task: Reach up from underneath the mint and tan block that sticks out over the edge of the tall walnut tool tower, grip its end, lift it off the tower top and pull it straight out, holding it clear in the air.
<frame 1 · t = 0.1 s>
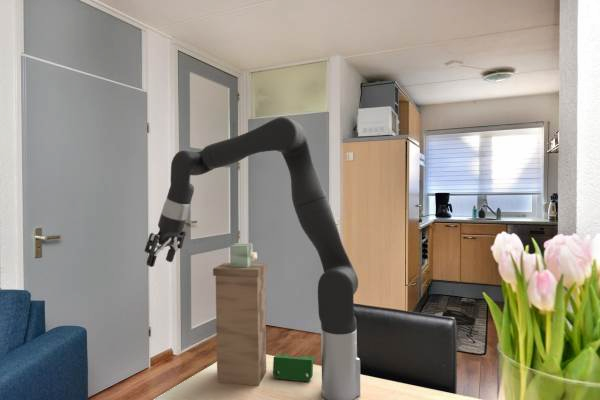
hand: (159, 263, 119), 31 cm above the table, tool tilted 20°, fingers open, 8 cm apart
mint and tan block: (246, 262, 115), point 32 cm above the table, touching tool tower
green box: (294, 376, 111), on the table
tool tower: (242, 376, 110), on the table
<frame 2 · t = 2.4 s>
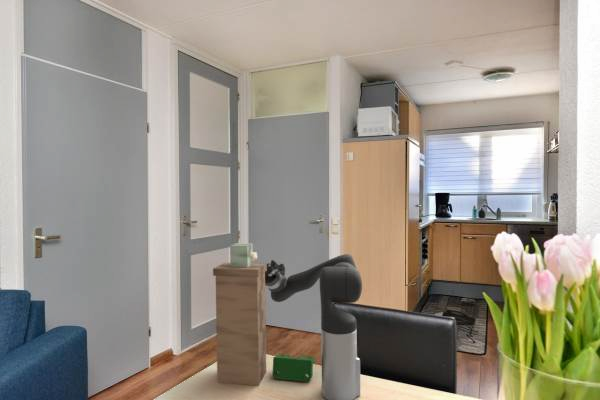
hand: (259, 262, 130), 29 cm above the table, tool pointing upward, fingers open, 8 cm apart
nothing on the table moved.
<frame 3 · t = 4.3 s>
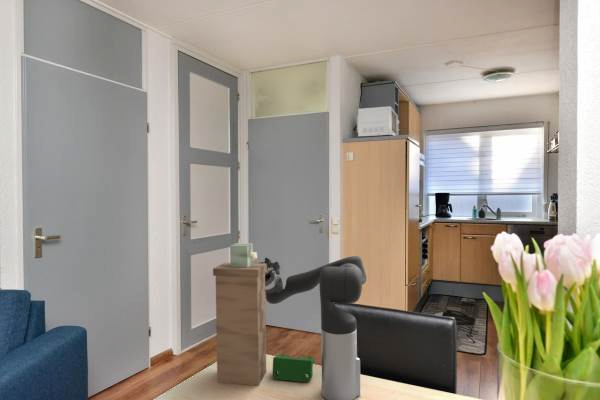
hand: (252, 260, 121), 32 cm above the table, tool pointing upward, fingers open, 8 cm apart
nothing on the table moved.
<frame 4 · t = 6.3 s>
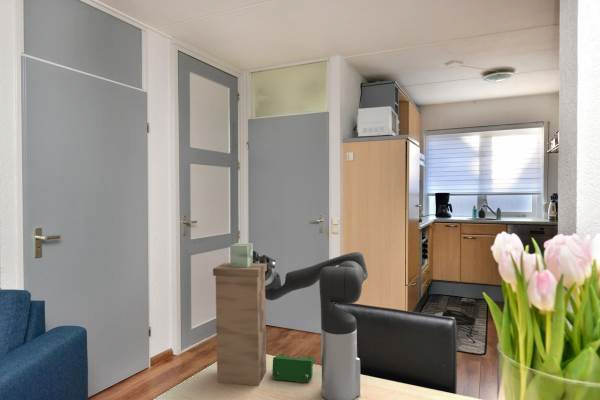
hand: (248, 253, 117), 34 cm above the table, tool pointing upward, fingers closed on mint and tan block, 2 cm apart
mint and tan block: (246, 262, 115), point 32 cm above the table, touching gripper, tool tower
everything else where it was.
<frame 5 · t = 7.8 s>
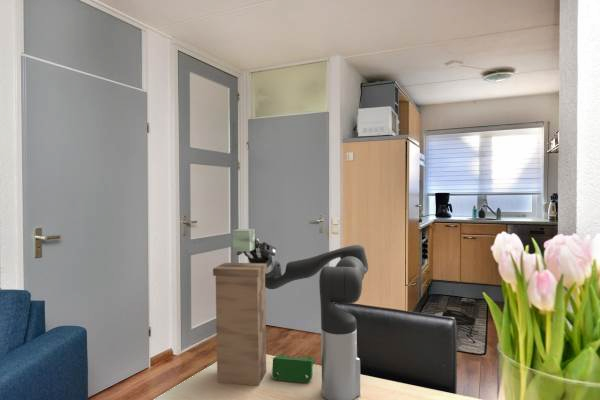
hand: (248, 240, 117), 38 cm above the table, tool pointing upward, fingers closed on mint and tan block, 2 cm apart
mint and tan block: (248, 247, 118), point 36 cm above the table, touching gripper
everything else where it was.
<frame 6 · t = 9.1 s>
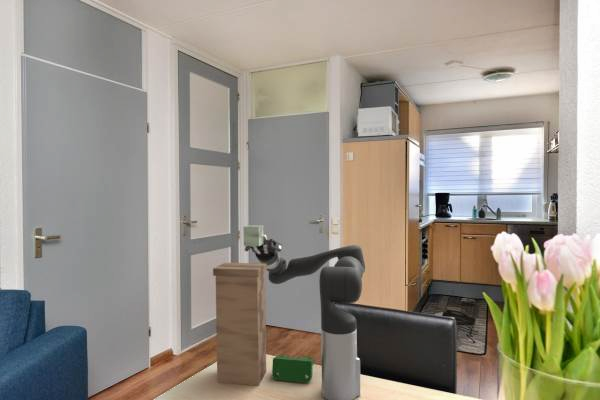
hand: (256, 237, 126), 38 cm above the table, tool pointing upward, fingers closed on mint and tan block, 2 cm apart
mint and tan block: (257, 243, 127), point 36 cm above the table, touching gripper
everything else where it was.
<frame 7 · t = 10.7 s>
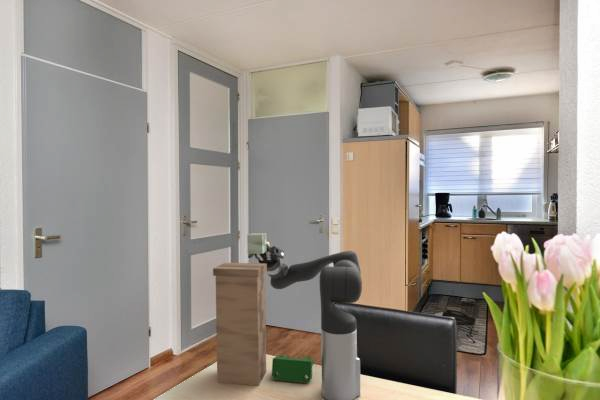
hand: (259, 244, 129), 35 cm above the table, tool pointing upward, fingers closed on mint and tan block, 2 cm apart
mint and tan block: (260, 250, 131), point 33 cm above the table, touching gripper
everything else where it was.
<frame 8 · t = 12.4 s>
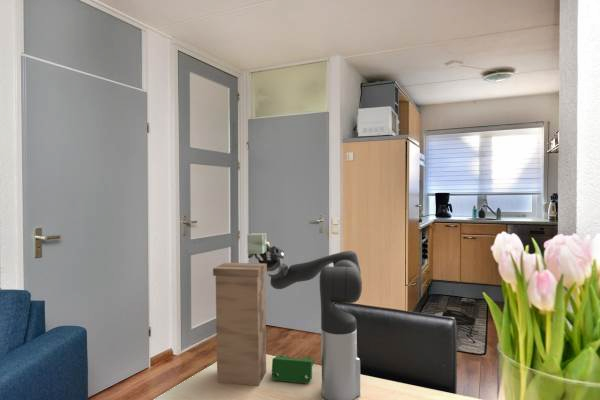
hand: (259, 244, 129), 35 cm above the table, tool pointing upward, fingers closed on mint and tan block, 2 cm apart
mint and tan block: (260, 250, 131), point 33 cm above the table, touching gripper
at the end: the gripper is holding mint and tan block; mint and tan block touching gripper; mint and tan block moved 16.1 cm from its start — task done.
